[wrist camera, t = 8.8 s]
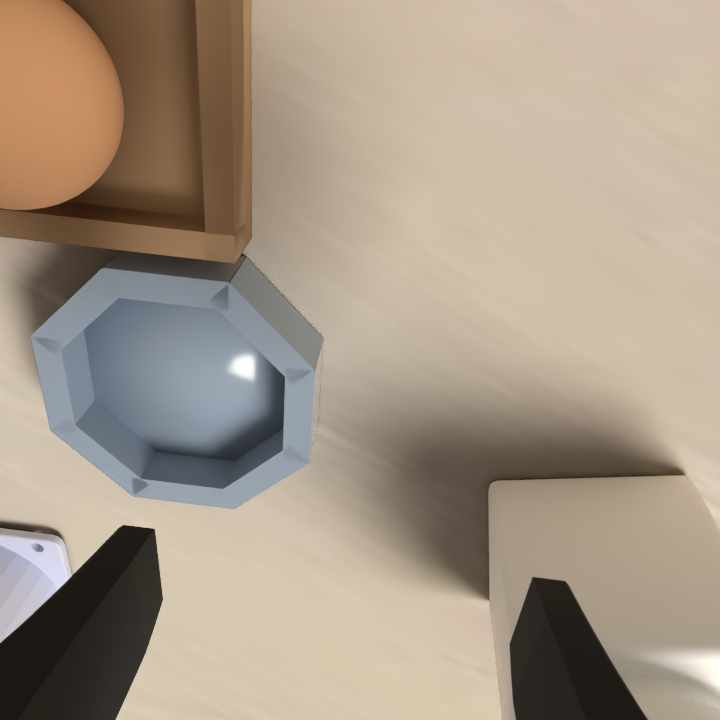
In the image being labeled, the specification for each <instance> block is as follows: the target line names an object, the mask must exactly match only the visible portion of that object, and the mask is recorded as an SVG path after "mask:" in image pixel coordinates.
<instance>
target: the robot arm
mask: <svg viewBox="0 0 720 720" xmlns="http://www.w3.org/2000/svg"><path fill="white" fill-rule="evenodd" d="M162 601H163V596H162V588H161V579H160V571H159V562H158V553H157V545H156V536H155V529H150V528H142V527H134V526H127V525H123V526H121V527H120V528H118V529H117V530H116V532H115V533H114V534H113V535H112V536H111V537H110V538H109V539H108V540H107V541H106V542H105V543H104V544H103V545H102V546H101V547H100V548H99V549H98V550H97V551H96V552H95V553H94V554H93V555H92V556H91V557H90V558H89V559H88V560H87V561H86V562H85V563H84V564H83V565H82V566H81V567H80V568H79V569H78V570H77V571H76V572H75V573H74V574H73V575H72V574H71V569H70V565H69V560H68V556H67V552H66V547H65V544H64V542H63V540H62V539H61V538H60V537H58V536H56V535H52V534H44V533H36V532H28V531H20V530H12V529H5V528H0V720H116V717H117V715H118V713H119V711H120V709H121V706H122V704H123V702H124V700H125V698H126V695H127V693H128V691H129V689H130V687H131V684H132V682H133V680H134V678H135V675H136V673H137V671H138V669H139V666H140V664H141V662H142V660H143V657H144V655H145V653H146V650H147V647H148V644H149V641H150V638H151V635H152V632H153V629H154V626H155V623H156V620H157V617H158V613H159V610H160V607H161V604H162ZM509 645H510V664H511V681H512V695H513V705H514V711H515V717H516V720H648V719H647V717H646V716H645V714H644V713H643V711H642V710H641V708H640V706H639V705H638V703H637V702H636V700H635V698H634V697H633V695H632V694H631V692H630V690H629V689H628V687H627V686H626V684H625V682H624V681H623V679H622V678H621V676H620V674H619V673H618V671H617V670H616V668H615V666H614V665H613V663H612V661H611V659H610V658H609V656H608V654H607V653H606V651H605V649H604V648H603V646H602V644H601V642H600V641H599V639H598V637H597V635H596V634H595V632H594V630H593V628H592V627H591V625H590V623H589V621H588V619H587V618H586V616H585V614H584V612H583V610H582V609H581V607H580V605H579V603H578V601H577V599H576V597H575V596H574V594H573V592H572V590H571V588H570V586H569V585H568V584H567V582H566V581H562V580H554V579H546V578H538V577H532V580H531V583H530V586H529V589H528V592H527V595H526V598H525V600H524V603H523V606H522V609H521V612H520V615H519V618H518V621H517V624H516V627H515V630H514V633H513V635H512V638H511V641H510V644H509Z"/></svg>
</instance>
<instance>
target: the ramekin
mask: <svg viewBox="0 0 720 720" xmlns="http://www.w3.org/2000/svg"><path fill="white" fill-rule="evenodd" d="M323 340H324V339H323V337H322V336H321V335H320V334H319V333H318V332H317V331H316V330H315V329H314V328H313V327H312V326H311V325H310V324H309V322H308V321H307V320H306V319H305V318H304V317H303V316H302V315H301V314H300V313H299V312H298V311H297V310H296V309H295V308H294V307H293V306H292V305H291V303H290V302H289V301H288V300H287V299H286V298H285V297H284V296H283V295H282V294H281V293H280V292H279V291H278V290H277V289H276V288H275V287H274V285H273V284H272V283H271V282H270V281H269V280H268V279H267V278H266V277H265V276H264V275H263V274H262V273H261V272H260V271H259V270H258V269H257V268H256V266H255V265H254V264H253V263H252V262H251V261H250V260H249V259H248V258H247V257H246V258H245V256H240V257H239V258H238V260H237V261H236V263H227V262H218V261H209V260H201V259H192V258H183V257H174V256H166V255H157V254H148V253H140V252H131V251H121V252H120V253H119V254H117V255H116V256H115V257H114V258H113V259H112V260H111V261H110V262H108V263H107V264H106V265H105V266H104V267H103V268H102V269H101V270H99V271H98V272H97V273H96V274H95V275H94V276H93V277H92V278H91V279H90V280H89V281H88V282H87V283H86V284H85V285H84V286H83V287H82V288H81V289H80V290H78V291H77V292H76V293H75V294H74V295H73V296H72V297H71V298H70V299H69V300H68V301H67V302H66V303H65V304H64V305H63V306H62V307H61V308H60V309H58V310H57V311H56V312H55V313H54V314H53V315H52V316H51V317H50V318H49V319H48V320H47V321H46V322H45V323H44V324H43V325H42V326H41V327H40V328H38V329H37V330H36V331H35V332H34V333H33V334H32V335H31V342H32V347H33V352H34V356H35V361H36V366H37V370H38V375H39V380H40V384H41V389H42V394H43V398H44V403H45V408H46V413H47V417H48V422H49V427H50V430H51V432H53V433H54V434H55V435H56V436H58V437H59V438H60V439H61V440H63V441H64V442H65V443H67V444H68V445H69V446H70V447H72V448H73V449H74V450H75V451H77V452H78V453H79V454H80V455H82V456H83V457H84V458H85V459H87V460H88V461H89V462H90V463H92V464H93V465H94V466H95V467H97V468H98V469H99V470H100V471H102V472H103V473H104V474H106V475H107V476H108V477H109V478H111V479H112V480H113V481H114V482H116V483H117V484H118V485H119V486H121V487H122V488H123V489H124V490H126V491H127V492H128V493H129V494H131V495H132V496H134V497H140V498H148V499H156V500H164V501H172V502H180V503H188V504H196V505H204V506H212V507H220V508H228V509H235V508H237V507H239V506H240V505H242V504H243V503H245V502H247V501H248V500H250V499H252V498H253V497H255V496H256V495H258V494H260V493H261V492H263V491H264V490H266V489H268V488H269V487H271V486H272V485H274V484H276V483H277V482H279V481H280V480H282V479H284V478H285V477H287V476H288V475H290V474H292V473H293V472H295V471H297V470H298V469H300V468H301V467H303V466H305V465H306V464H308V463H309V462H310V457H311V453H312V449H313V444H314V440H315V436H316V432H317V427H318V416H319V401H320V386H321V370H322V355H323Z"/></svg>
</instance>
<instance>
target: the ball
mask: <svg viewBox="0 0 720 720" xmlns="http://www.w3.org/2000/svg"><path fill="white" fill-rule="evenodd" d="M123 121H124V103H123V95H122V89H121V84H120V81H119V78H118V75H117V71H116V69H115V67H114V64H113V62H112V59H111V57H110V55H109V54H108V52H107V50H106V48H105V46H104V45H103V43H102V42H101V40H100V39H99V37H98V36H97V35H96V33H95V32H94V31H93V29H92V28H91V27H90V26H89V25H88V24H87V22H86V21H85V20H84V19H83V18H82V17H81V16H80V15H79V14H78V13H77V12H76V11H74V10H73V9H72V8H71V7H70V6H69V5H68V4H67V3H65V2H64V1H63V0H0V208H2V209H11V210H31V209H38V208H45V207H50V206H53V205H57V204H60V203H63V202H65V201H67V200H69V199H72V198H74V197H76V196H78V195H79V194H81V193H82V192H84V191H85V190H87V189H88V188H89V187H90V186H92V185H93V184H94V183H95V182H96V181H97V180H98V179H99V178H100V177H101V176H102V174H103V173H104V172H105V170H106V169H107V168H108V166H109V165H110V163H111V161H112V159H113V158H114V156H115V154H116V151H117V149H118V146H119V143H120V139H121V134H122V129H123Z"/></svg>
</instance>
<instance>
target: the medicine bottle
mask: <svg viewBox="0 0 720 720" xmlns="http://www.w3.org/2000/svg"><path fill="white" fill-rule="evenodd" d="M488 510H489V596H490V614H491V623H492V631H493V640H494V649H495V658H496V667H497V676H498V685H499V693H500V702H501V711H502V720H516V717H515V711H514V705H513V695H512V681H511V664H510V645H509V644H510V641H511V638H512V635H513V633H514V630H515V627H516V624H517V621H518V618H519V615H520V612H521V609H522V606H523V603H524V600H525V598H526V595H527V592H528V589H529V586H530V583H531V580H532V577H538V578H546V579H554V580H562V581H566V582H567V584H568V585H569V586H570V588H571V590H572V592H573V594H574V596H575V597H576V599H577V601H578V603H579V605H580V607H581V609H582V610H583V612H584V614H585V616H586V618H587V619H588V621H589V623H590V625H591V627H592V628H593V630H594V632H595V634H596V635H597V637H598V639H599V641H600V642H601V644H602V646H603V648H604V649H605V651H606V653H607V654H608V656H609V658H610V659H611V661H612V663H613V665H614V666H615V668H616V670H617V671H618V673H619V674H620V676H621V678H622V679H623V681H624V682H625V684H626V686H627V687H628V689H629V690H630V692H631V694H632V695H633V697H634V698H635V700H636V702H637V703H638V705H639V706H640V708H641V710H642V711H643V713H644V714H645V716H646V717H647V719H648V720H720V529H719V527H718V526H717V524H716V522H715V520H714V518H713V517H712V515H711V513H710V511H709V509H708V508H707V506H706V504H705V502H704V500H703V499H702V497H701V495H700V493H699V491H698V489H697V488H696V486H695V484H694V482H693V481H692V480H691V479H690V478H689V477H687V476H684V475H672V476H638V477H604V478H570V479H535V480H501V481H494V482H492V483H491V484H490V487H489V490H488Z"/></svg>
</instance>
